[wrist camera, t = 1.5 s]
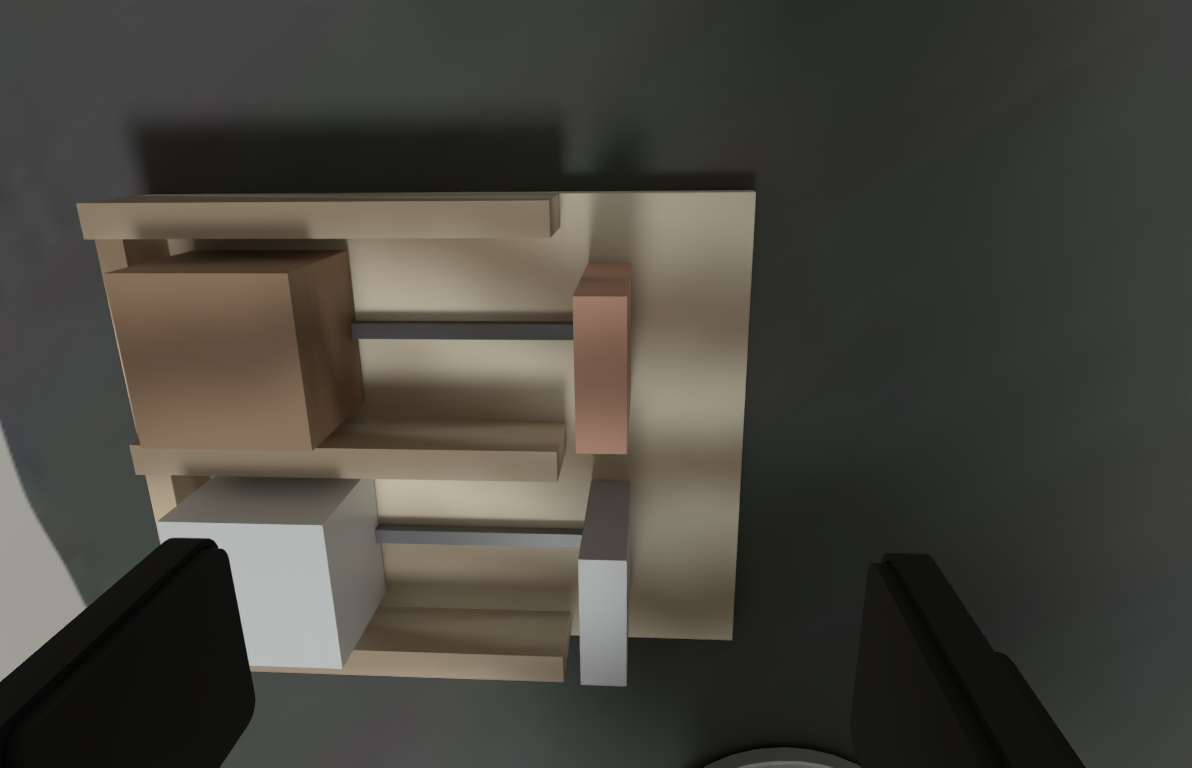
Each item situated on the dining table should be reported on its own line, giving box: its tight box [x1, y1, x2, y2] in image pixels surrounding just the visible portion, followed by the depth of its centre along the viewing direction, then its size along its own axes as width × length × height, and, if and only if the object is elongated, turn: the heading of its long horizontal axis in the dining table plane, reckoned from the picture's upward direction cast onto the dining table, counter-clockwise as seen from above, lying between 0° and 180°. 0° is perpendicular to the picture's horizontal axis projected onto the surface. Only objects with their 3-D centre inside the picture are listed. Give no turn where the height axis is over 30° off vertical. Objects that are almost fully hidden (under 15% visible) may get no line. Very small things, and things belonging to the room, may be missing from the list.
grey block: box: [157, 476, 631, 686], centre depth 29 cm, size 6×17×6 cm, turn 91°
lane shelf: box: [76, 190, 756, 682], centre depth 30 cm, size 19×23×4 cm
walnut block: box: [103, 250, 631, 454], centre depth 26 cm, size 6×17×6 cm, turn 91°
